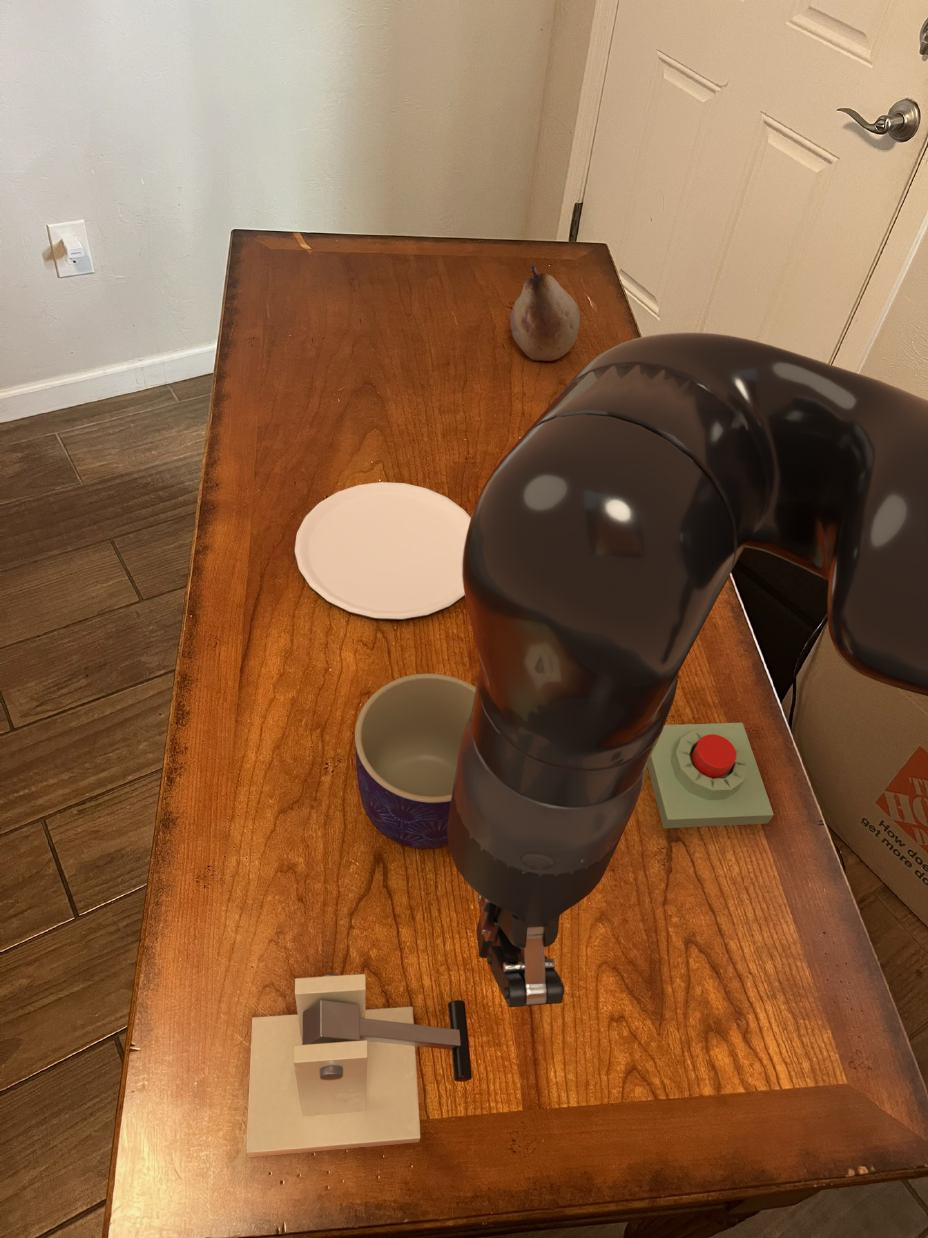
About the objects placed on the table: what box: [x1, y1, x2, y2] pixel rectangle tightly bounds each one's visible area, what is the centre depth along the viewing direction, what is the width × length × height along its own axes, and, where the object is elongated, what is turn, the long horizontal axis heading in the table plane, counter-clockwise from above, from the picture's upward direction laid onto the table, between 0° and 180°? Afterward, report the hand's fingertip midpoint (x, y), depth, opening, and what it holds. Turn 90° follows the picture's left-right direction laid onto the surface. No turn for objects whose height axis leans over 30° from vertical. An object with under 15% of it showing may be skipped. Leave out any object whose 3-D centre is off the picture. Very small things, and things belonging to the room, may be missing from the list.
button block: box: [646, 722, 775, 829], centre depth 87 cm, size 10×10×4 cm
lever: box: [302, 999, 473, 1083], centre depth 61 cm, size 12×5×2 cm
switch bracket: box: [245, 973, 421, 1158], centre depth 63 cm, size 12×9×15 cm
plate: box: [294, 481, 471, 621], centre depth 103 cm, size 21×21×1 cm
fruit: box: [510, 265, 581, 362], centre depth 127 cm, size 10×9×12 cm
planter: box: [354, 673, 476, 850], centre depth 80 cm, size 12×12×11 cm
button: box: [692, 734, 736, 778], centre depth 86 cm, size 4×4×2 cm
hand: (496, 944), depth 53 cm, fingers closed
